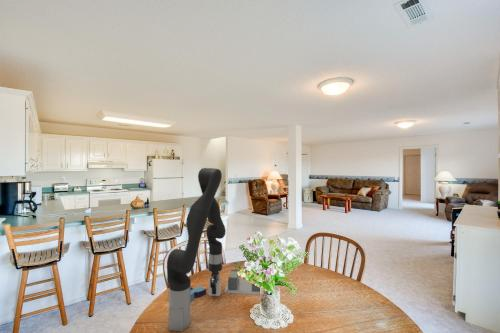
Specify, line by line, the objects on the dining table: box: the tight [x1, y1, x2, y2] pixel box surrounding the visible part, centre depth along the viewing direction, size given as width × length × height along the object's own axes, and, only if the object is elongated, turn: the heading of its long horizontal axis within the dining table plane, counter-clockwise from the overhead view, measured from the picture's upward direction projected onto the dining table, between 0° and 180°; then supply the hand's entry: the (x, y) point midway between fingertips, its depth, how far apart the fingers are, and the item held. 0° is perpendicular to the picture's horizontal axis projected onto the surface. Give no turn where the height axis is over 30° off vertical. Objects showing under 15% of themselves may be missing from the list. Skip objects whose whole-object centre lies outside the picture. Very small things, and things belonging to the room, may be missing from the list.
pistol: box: [190, 285, 208, 303], centre depth 136 cm, size 4×16×15 cm
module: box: [208, 277, 222, 297], centre depth 137 cm, size 4×6×8 cm, turn 85°
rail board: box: [224, 269, 261, 296], centre depth 144 cm, size 14×22×8 cm, turn 85°
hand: (214, 291), depth 137 cm, fingers closed on module, 4 cm apart
